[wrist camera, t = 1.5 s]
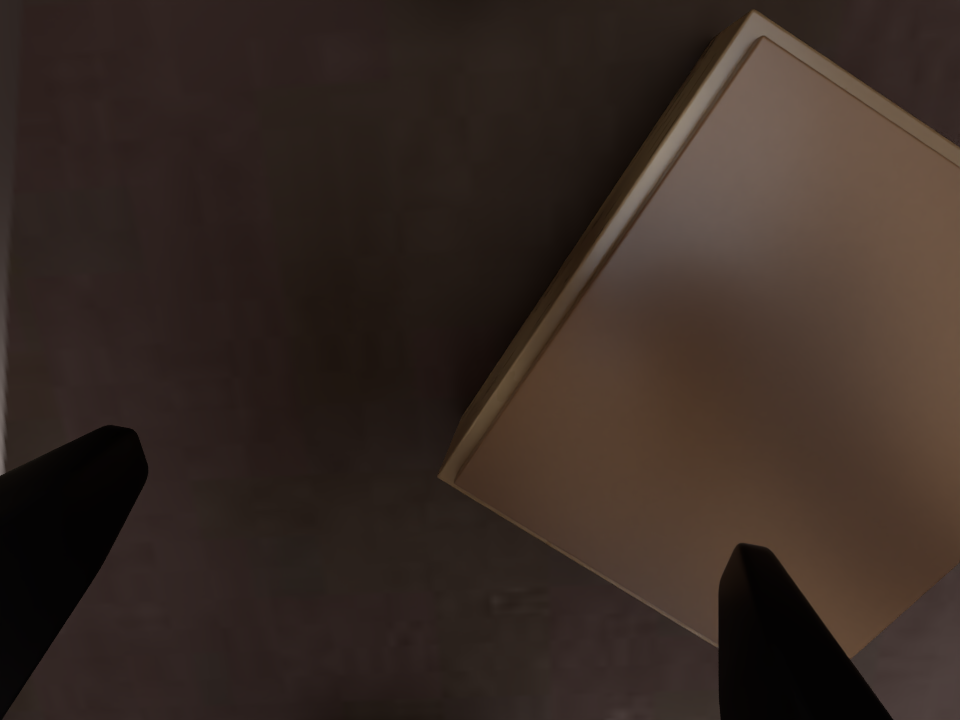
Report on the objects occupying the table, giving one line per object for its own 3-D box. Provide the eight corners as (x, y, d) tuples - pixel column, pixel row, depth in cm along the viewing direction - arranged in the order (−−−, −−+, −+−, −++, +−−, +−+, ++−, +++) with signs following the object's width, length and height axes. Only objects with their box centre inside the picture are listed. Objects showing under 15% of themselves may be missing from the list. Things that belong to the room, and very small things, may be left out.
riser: (764, 604, 22) (808, 716, 18) (460, 417, 21) (431, 487, 17) (1087, 284, 18) (1248, 332, 13) (714, 35, 17) (759, 1, 13)
